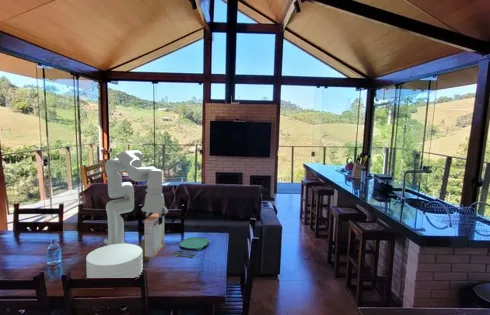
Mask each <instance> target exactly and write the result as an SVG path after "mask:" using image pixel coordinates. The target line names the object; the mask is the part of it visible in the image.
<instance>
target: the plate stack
mask: <svg viewBox="0 0 490 315" xmlns="http://www.w3.org/2000/svg"><path fill="white" fill-rule="evenodd" d="M85 259H86V260H85V261H86V264H85V265H86V279H87V278H135V277H138V278H139V277H140V276H141V275H142V274H141V272H142V273H143V271H142V270H143V268H144V267H143V264H144V261H143V259H142V248H141V246H140V245H137V244H133V243H126V244H113V245H108V246H107V245H104V246H101V247H98V248H96V249H94V250H92V251H91V252H89V253H88V254H87V255H86V257H85ZM140 274H141V275H140ZM139 275H140V276H139Z"/></svg>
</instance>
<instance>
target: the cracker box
mask: <svg viewBox="0 0 490 315" xmlns="http://www.w3.org/2000/svg"><path fill="white" fill-rule="evenodd" d="M150 215H151V216H149V217H148V218H147V217H146V218H145V219H143V220H144V221H143V223H144V237H145V257H150V258H155V257H156V256H158V254H159V253H160V252H161V251H162V250H163V249H164V248H165V215H164V216H163V222H162V224H160V225H159V214H158V213H152V214H150Z"/></svg>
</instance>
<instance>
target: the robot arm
mask: <svg viewBox="0 0 490 315" xmlns="http://www.w3.org/2000/svg"><path fill="white" fill-rule="evenodd" d="M143 161H144V155H143V153H142V152H141V151H140V150H124V151H121V152H119V153H118V155H117V158H116V157H115V158H110V159H107V160H106V162H105V164H104V170H105V171H104V172H105V174H106V176H107V194H108V197H109V198H110V199H113V200H110V201H108V202H107V203H106V205H105V210H106V215H107V227H108V228H107V230H108V231H107V233H108V234H107V235H108V236H107V237H108V239H106V238H105V239H104V240H103V244H106V246H108V245H113V244H127V242H126V241H125V227H124V226H125V225H124V224H125V221H124V218H123V217H122V216H121V214H125V213H130V212H132V211H133V210H134V209H135V188H134V186H133V183H131V182H129V181H126V182H123V177H122V175H121V173H120V172H126V174H127V176H128V177H129V179H131V180H132V181H134V182H136V183H137V182H145V181H147V188H146V189H145V192H147V193H146V194H145V196H144V206H142V207H141V209H140V210H141V211H142V212H143V214H144V215H145V217H146V218H148V217H149V216H151V215H152V214H153V213H158V214H159V225H160V224H162V222H163V216H164V217H165V215H166V214H168V213H169V210H168V209H167V207H166V206H165V196H164V193H163V170H162V169H159V168H157V167H155V166H144V167H143V166H142V163H143ZM151 213H152V214H151Z"/></svg>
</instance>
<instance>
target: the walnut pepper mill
mask: <svg viewBox="0 0 490 315" xmlns="http://www.w3.org/2000/svg"><path fill="white" fill-rule="evenodd" d="M140 247H141V248H142V259H143V263H144V262H149V261H150V260H151V257H145V236H144V237H143V239H142V240H141V245H140Z"/></svg>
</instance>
